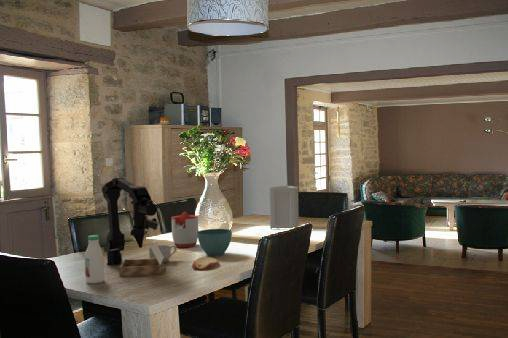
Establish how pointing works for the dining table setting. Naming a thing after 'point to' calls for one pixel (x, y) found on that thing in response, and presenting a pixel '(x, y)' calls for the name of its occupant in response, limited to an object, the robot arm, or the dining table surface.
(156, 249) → the grey flat panel
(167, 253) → the teacup
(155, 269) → the wooden tray
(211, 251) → the teal bowl
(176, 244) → the citrus juicer
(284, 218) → the tall grey box
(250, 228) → the dining table surface
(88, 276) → the milk bottle
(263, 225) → the dining table surface
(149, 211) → the robot arm
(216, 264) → the slice of bread
